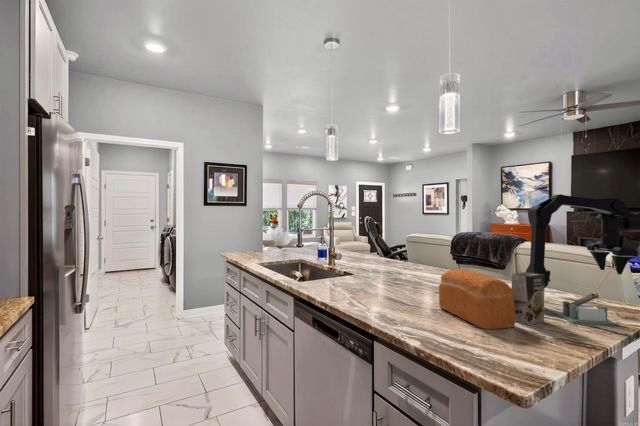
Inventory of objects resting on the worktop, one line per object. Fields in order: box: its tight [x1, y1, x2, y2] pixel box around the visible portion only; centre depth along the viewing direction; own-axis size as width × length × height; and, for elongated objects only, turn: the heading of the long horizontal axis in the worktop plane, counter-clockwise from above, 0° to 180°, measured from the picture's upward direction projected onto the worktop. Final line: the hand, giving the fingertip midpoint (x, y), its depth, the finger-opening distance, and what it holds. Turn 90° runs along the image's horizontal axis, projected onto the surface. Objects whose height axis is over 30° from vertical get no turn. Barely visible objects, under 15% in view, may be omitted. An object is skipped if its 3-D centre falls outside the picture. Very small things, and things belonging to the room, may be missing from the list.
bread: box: [438, 268, 516, 330], centre depth 117 cm, size 14×26×16 cm, turn 12°
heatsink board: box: [554, 300, 616, 326], centre depth 114 cm, size 13×10×5 cm
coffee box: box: [511, 271, 545, 326], centre depth 112 cm, size 9×6×16 cm
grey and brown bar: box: [566, 290, 600, 308], centre depth 114 cm, size 10×2×2 cm, turn 81°
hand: (610, 272), depth 124 cm, fingers open, 9 cm apart
